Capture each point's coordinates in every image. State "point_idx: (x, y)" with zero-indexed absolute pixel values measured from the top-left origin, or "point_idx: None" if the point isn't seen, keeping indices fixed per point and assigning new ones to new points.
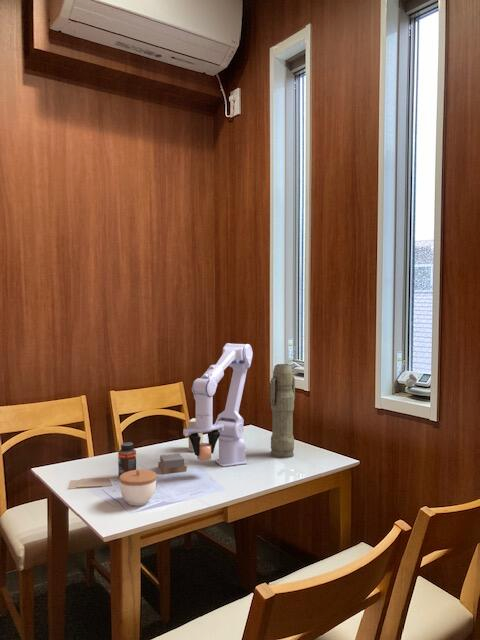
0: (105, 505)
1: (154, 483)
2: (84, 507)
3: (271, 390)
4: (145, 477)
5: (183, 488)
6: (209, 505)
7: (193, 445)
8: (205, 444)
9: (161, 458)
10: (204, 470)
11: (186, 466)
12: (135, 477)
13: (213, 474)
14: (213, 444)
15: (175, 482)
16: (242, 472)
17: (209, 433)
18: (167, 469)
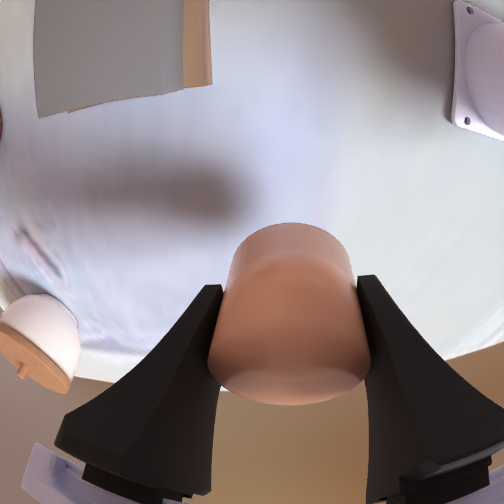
0: (12, 297)
1: (72, 378)
2: None
3: None
4: (48, 384)
5: (161, 296)
6: (220, 390)
7: (167, 352)
8: (312, 368)
9: (37, 38)
10: (332, 113)
11: (203, 85)
12: (28, 372)
13: (350, 203)
14: (371, 395)
15: (132, 231)
16: (470, 240)
17: (396, 469)
18: (87, 106)
